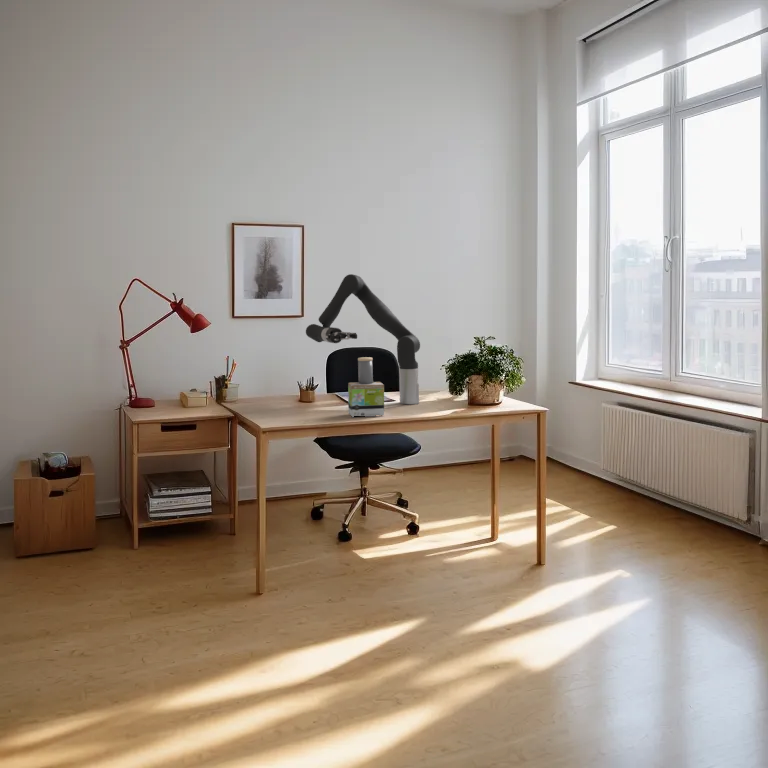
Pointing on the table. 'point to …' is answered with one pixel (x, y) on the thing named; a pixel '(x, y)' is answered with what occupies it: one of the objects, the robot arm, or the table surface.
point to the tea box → (365, 399)
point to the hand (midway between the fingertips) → (348, 337)
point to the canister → (365, 370)
